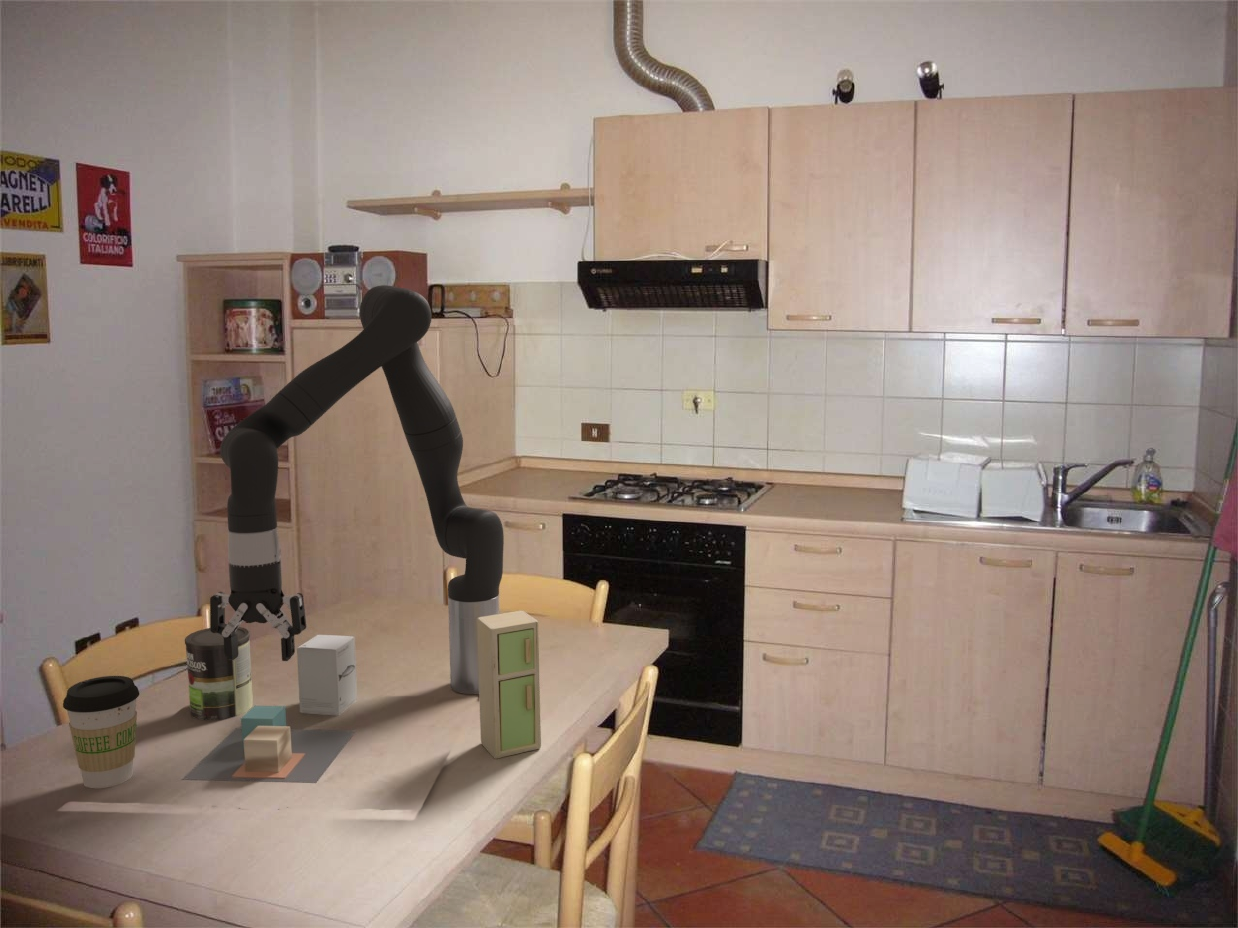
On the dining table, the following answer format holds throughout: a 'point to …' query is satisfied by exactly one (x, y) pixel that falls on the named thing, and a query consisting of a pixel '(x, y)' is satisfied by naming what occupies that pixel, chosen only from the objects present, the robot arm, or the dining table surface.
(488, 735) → the toy refrigerator
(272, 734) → the ash block
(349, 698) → the supplement box
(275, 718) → the teal block
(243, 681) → the coffee can
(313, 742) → the baseplate
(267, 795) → the dining table surface
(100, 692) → the coffee cup
